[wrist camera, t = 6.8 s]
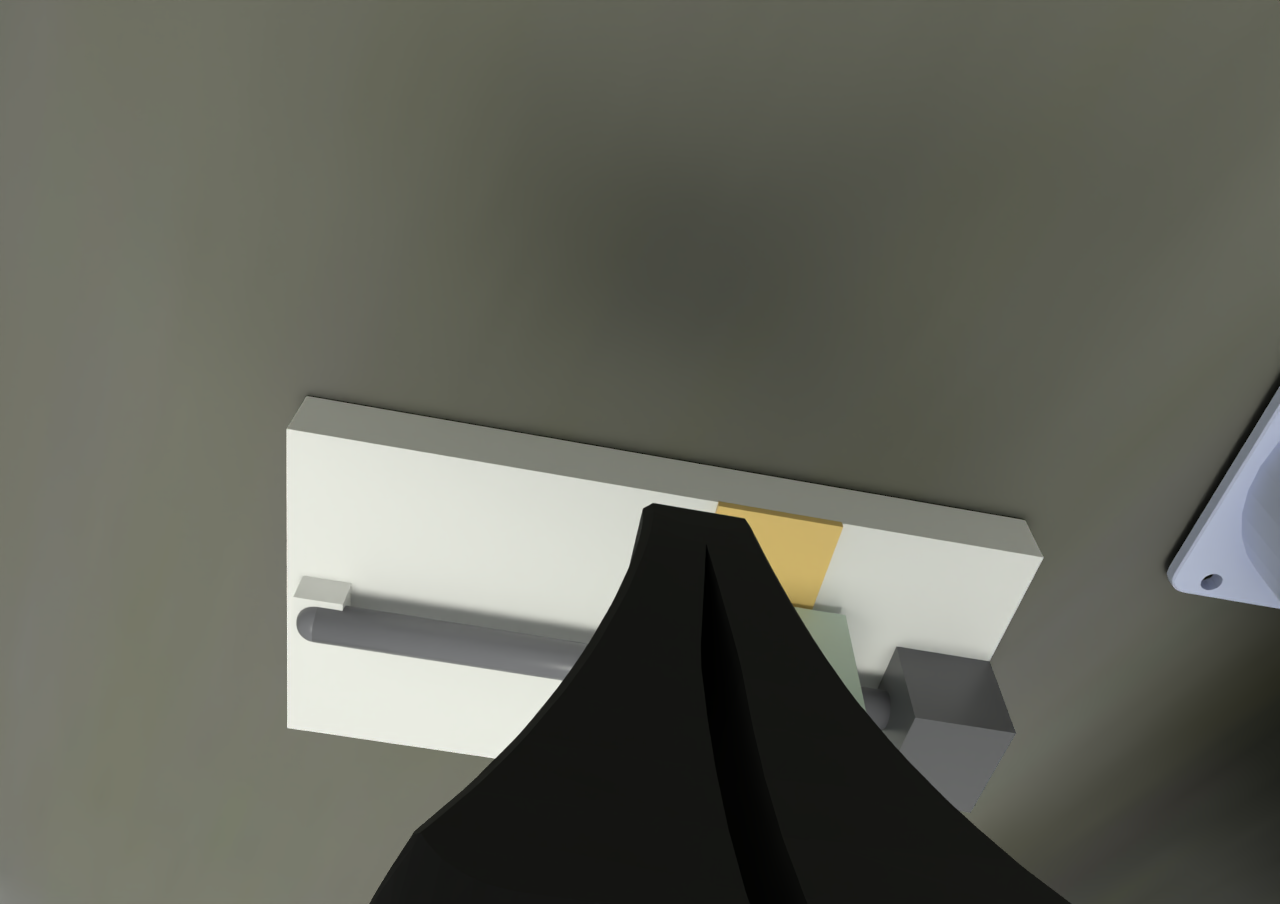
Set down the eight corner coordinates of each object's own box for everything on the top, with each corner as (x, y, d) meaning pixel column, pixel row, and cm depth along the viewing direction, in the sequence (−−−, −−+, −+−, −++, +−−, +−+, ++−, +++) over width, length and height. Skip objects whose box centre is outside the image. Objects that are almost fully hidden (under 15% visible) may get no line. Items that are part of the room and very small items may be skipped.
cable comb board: (1025, 520, 25) (1077, 626, 22) (897, 777, 31) (924, 893, 28) (306, 395, 24) (249, 489, 21) (303, 688, 29) (257, 799, 26)
